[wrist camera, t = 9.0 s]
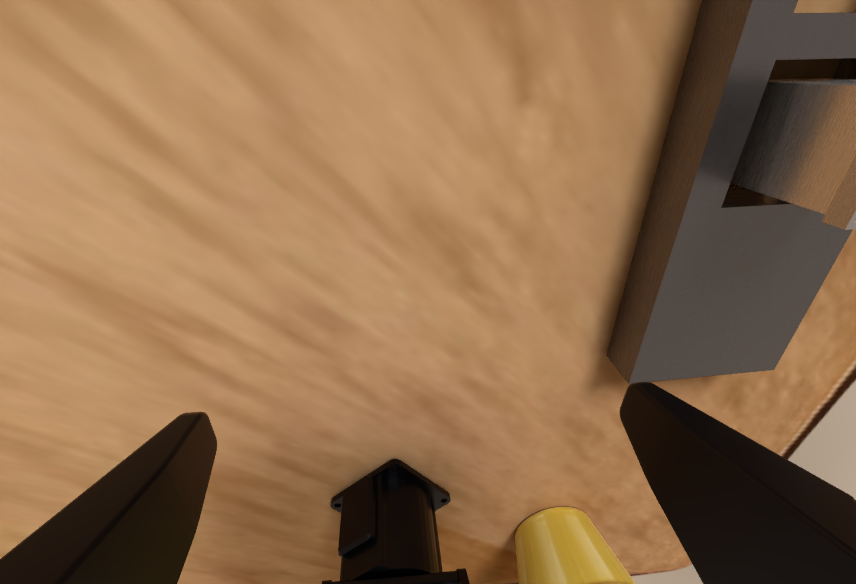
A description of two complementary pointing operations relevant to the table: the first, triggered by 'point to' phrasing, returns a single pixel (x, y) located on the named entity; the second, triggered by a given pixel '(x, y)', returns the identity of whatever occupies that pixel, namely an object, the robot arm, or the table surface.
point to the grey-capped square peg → (805, 147)
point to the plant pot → (565, 550)
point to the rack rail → (726, 209)
